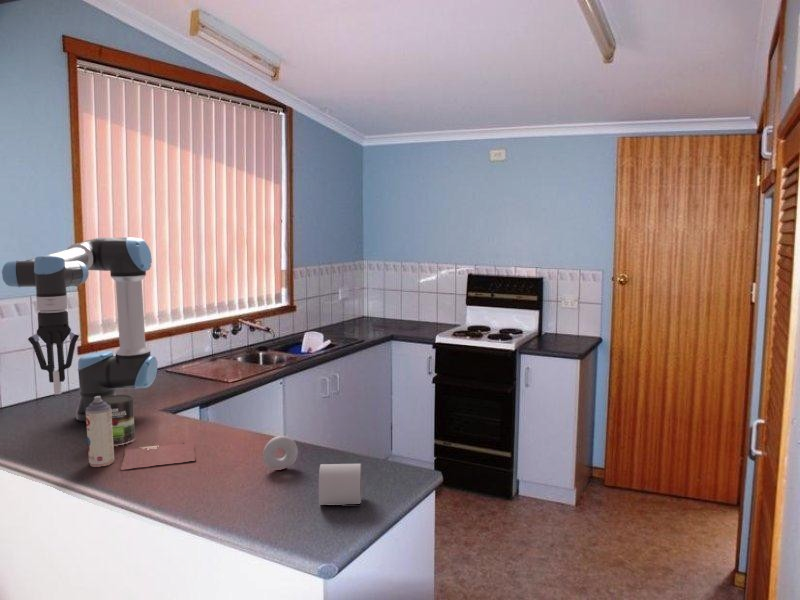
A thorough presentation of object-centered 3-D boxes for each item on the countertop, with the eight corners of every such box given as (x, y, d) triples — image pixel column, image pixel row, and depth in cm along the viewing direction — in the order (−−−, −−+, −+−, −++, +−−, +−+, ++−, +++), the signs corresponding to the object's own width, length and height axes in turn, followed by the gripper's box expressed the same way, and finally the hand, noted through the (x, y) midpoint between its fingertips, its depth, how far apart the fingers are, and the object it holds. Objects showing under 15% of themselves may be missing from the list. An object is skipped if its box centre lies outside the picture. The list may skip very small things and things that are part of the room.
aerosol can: (90, 460, 194) (86, 394, 191) (115, 457, 196) (111, 392, 193) (87, 468, 187) (82, 401, 185) (113, 465, 189) (108, 398, 187)
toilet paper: (361, 494, 169) (361, 457, 168) (360, 512, 159) (359, 472, 158) (322, 495, 168) (321, 458, 167) (319, 512, 159) (318, 473, 157)
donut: (296, 465, 189) (295, 431, 188) (299, 469, 186) (298, 435, 185) (262, 471, 185) (260, 437, 184) (265, 475, 182) (264, 440, 181)
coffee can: (133, 445, 207) (131, 401, 205) (98, 448, 204) (95, 404, 202) (137, 434, 217) (135, 393, 215) (103, 437, 214) (101, 396, 212)
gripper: (23, 313, 177) (29, 398, 180) (76, 311, 181) (81, 394, 184) (29, 310, 184) (35, 391, 187) (80, 308, 188) (85, 388, 191)
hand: (58, 393), depth 185 cm, fingers closed
